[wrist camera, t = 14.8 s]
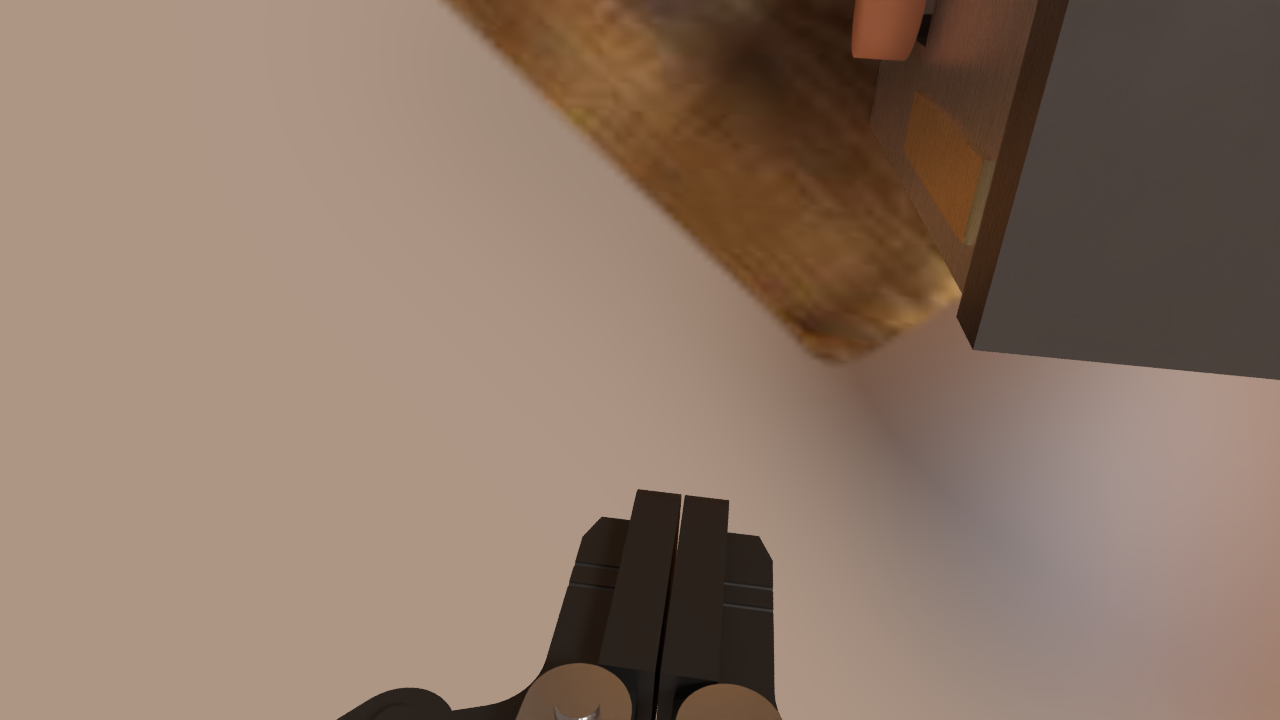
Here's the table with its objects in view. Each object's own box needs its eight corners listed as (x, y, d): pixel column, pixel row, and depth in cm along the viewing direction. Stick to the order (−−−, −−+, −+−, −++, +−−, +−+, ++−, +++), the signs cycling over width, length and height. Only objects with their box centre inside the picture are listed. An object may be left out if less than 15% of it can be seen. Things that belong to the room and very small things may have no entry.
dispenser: (862, 129, 43) (972, 350, 20) (919, -198, 36) (1182, -414, 13) (1106, 147, 42) (1511, 402, 19) (1214, -188, 35) (2051, -409, 12)
